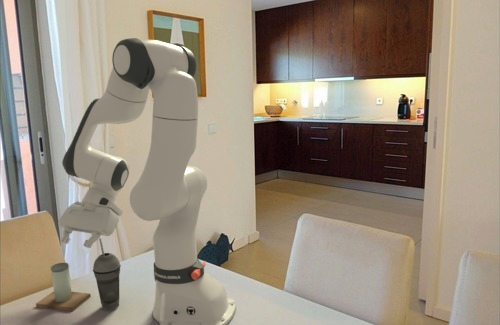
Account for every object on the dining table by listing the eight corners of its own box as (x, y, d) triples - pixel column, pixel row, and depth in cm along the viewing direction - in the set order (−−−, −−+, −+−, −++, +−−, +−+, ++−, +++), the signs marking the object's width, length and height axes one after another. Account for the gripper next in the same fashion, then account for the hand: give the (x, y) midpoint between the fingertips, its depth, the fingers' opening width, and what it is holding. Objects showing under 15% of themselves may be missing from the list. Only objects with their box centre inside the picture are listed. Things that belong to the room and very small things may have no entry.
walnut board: (90, 296, 119) (90, 293, 119) (72, 311, 111) (72, 307, 111) (56, 292, 122) (55, 289, 122) (36, 306, 114) (35, 303, 114)
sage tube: (75, 295, 118) (72, 263, 116) (65, 303, 114) (60, 270, 112) (62, 293, 119) (58, 262, 117) (51, 301, 115) (46, 268, 113)
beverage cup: (115, 314, 109) (108, 244, 105) (91, 312, 110) (84, 243, 107) (129, 300, 116) (122, 234, 112) (106, 298, 117) (99, 233, 114)
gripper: (67, 196, 128) (43, 236, 121) (115, 201, 119) (93, 244, 112) (80, 206, 132) (58, 244, 126) (127, 211, 123) (106, 253, 117)
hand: (75, 244), depth 119 cm, fingers open, 8 cm apart
